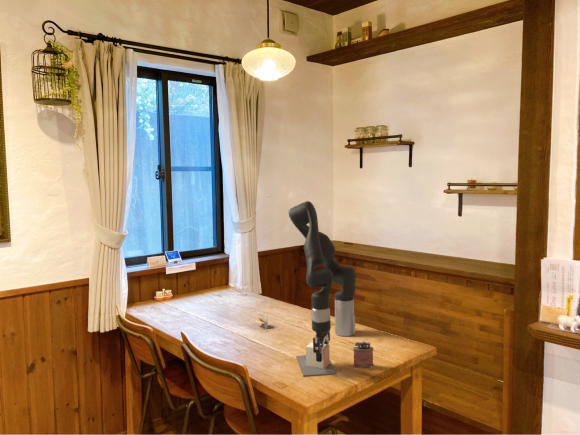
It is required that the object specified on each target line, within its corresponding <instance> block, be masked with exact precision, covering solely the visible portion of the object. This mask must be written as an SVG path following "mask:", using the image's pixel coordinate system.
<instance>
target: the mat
mask: <svg viewBox="0 0 580 435" xmlns="http://www.w3.org/2000/svg"><path fill="white" fill-rule="evenodd" d="M295 357H296V360H297V363H298V365H299V368H300V370H301V373H302V377H316V376H326V375H327V376H329V375H337V372H336V370H335V367H334V366H333V364H332V362H331V361H330V364H329V365H328V366H327V367H326V368H325V369H322V368H317V367H311V366H306V354H305V355H304V354H303V355H296V356H295Z"/></svg>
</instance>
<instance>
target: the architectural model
mask: <svg viewBox="0 0 580 435" xmlns="http://www.w3.org/2000/svg"><path fill="white" fill-rule="evenodd" d="M260 316H261V318H258V319H255V322H257V323H259V324H261V327H262V328H263V329H264V330H267V329H268V328H269V327H268V314H266V313H264V312H261V313H260Z"/></svg>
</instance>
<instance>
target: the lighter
mask: <svg viewBox="0 0 580 435" xmlns="http://www.w3.org/2000/svg"><path fill="white" fill-rule="evenodd" d="M352 349H353V364H352V365H353V367H354V368H356V367H367V368H372V367H371V366H373V367H374V353H373V352H374V347H373V346H371V342H369V341H368V342H367V341H365V340H362V341H357V342H354V347H352Z"/></svg>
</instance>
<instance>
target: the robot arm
mask: <svg viewBox="0 0 580 435" xmlns="http://www.w3.org/2000/svg"><path fill="white" fill-rule="evenodd" d="M288 217H289V218H290V221H291V222H292V224H293V225H294V226H295V228H296V229H297V230H298V231H299V232H300V234H301V235H302V236H303V237H304V238H305V241H304V246H303V251H304V252H303V253H304V255H305V260H306V261H305V262H306V274H305V276H306V277H305V280H306V284H307V286H308V287H309V288H312V289H313V288H321V289H320V290H317V291H315V292H312V294H311V296H310V297H311V330H312V331H313V332H315V337H312V338H313V339H312V342H313V353H316V361H317V362H321V361H322V348H323V347H324V344H329V345H330V341H331V329H332V327H331V326H332V325H331V322H332V321H331V311H330V294H331V293H330V292H331V288H332V285H333V283H334V284H335V285H339V286H342V289H341V290H339V291H336V292H335V293H334V333H335V334H334V335H336V336H340V337H351V336H353V335H356V315H355V304H354V303H355V302H354V301H355V299H354V298H355V294H356V293H355V292H356V281H357V280H356V275H357V274H356V271H355V269H354V268H353V267H350V266H346V265H341V264H340V263H339V262H338V261H337V260H336V256H335V255H336V246H335V245H334V243H333V242H332V240H331V238H330V237H329V236H328V235H326V234H325V233H323V232H321V231H320V230H319V222H318V220H319V219H318V214H317V211H316V208H315V205H313V203H312V202H311V201H308V200H307V201H304V202H301V203H299V204H297V205H295V206H293V207H291V208H290V209H289V210H288ZM308 224H309V225H308ZM322 265H323V266H324V268H318V267H321V266H322ZM316 268H318V269H316ZM320 344H321V345H320ZM317 348H318V350H317Z"/></svg>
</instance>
